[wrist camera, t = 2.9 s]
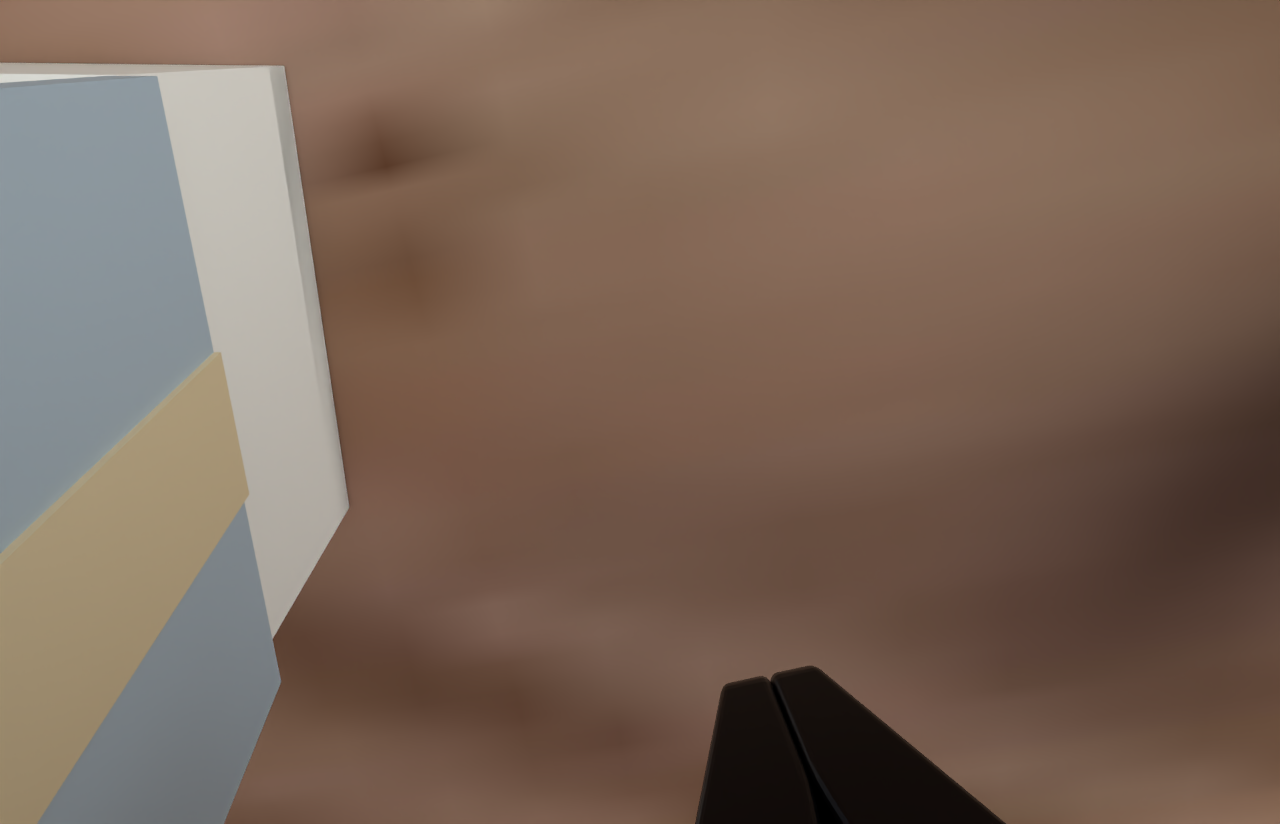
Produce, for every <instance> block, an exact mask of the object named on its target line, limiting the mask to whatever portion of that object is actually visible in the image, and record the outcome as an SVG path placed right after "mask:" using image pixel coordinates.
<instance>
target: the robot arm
mask: <svg viewBox="0 0 1280 824" xmlns="http://www.w3.org/2000/svg"><path fill="white" fill-rule="evenodd" d="M695 824H1006V823H1005V822H1003V821H1002V820H1001V819H1000V818H999V817H997V816H996V815H995V814H994V813H993V812H991V811H990V810H989V809H988V808H987V807H985V806H984V805H983V804H982V803H981V802H979V801H978V800H977V799H976V798H974V797H973V796H972V795H971V794H970V793H968V792H967V791H966V790H965V789H964V788H962V787H961V786H960V785H959V784H958V783H956V782H955V781H954V780H953V779H952V778H950V777H949V776H948V775H947V774H946V773H944V772H943V771H942V770H941V769H940V768H938V767H937V766H936V765H935V764H934V763H932V762H931V761H930V760H929V759H928V758H926V757H925V756H924V755H923V754H922V753H920V752H919V751H918V750H917V749H915V748H914V747H913V746H912V745H911V744H909V743H908V742H907V741H906V740H905V739H903V738H902V737H901V736H900V735H899V734H897V733H896V732H895V731H894V730H893V729H891V728H890V727H889V726H888V725H887V724H885V723H884V722H883V721H882V720H881V719H879V718H878V717H877V716H876V715H875V714H873V713H872V712H871V711H870V710H869V709H867V708H866V707H865V706H864V705H863V704H861V703H860V702H859V701H858V700H856V699H855V698H854V697H853V696H852V695H850V694H849V693H848V692H847V691H846V690H844V689H843V688H842V687H841V686H840V685H838V684H837V683H836V682H835V681H834V680H832V679H831V678H830V677H829V676H828V675H826V674H825V673H824V672H823V671H822V670H820V669H819V668H817V667H814V666H805V667H801V668H796V669H791V670H787V671H782V672H777V673H775V674H774V675H773V676H772V678H771V681H769V680H768V679H767V678H766V677H763V676H759V677H754V678H750V679H745V680H741V681H736V682H732V683H728V684H726V685H725V686H724V687H723V689H722V691H721V695H720V700H719V705H718V710H717V715H716V720H715V725H714V730H713V735H712V741H711V746H710V751H709V756H708V761H707V766H706V771H705V776H704V781H703V786H702V791H701V796H700V801H699V806H698V812H697V817H696V822H695Z"/></svg>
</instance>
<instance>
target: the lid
mask: <svg viewBox="0 0 1280 824" xmlns="http://www.w3.org/2000/svg"><path fill="white" fill-rule="evenodd" d="M248 496H249V490H248V485H247V480H246V475H245V470H244V465H243V460H242V455H241V450H240V445H239V440H238V435H237V430H236V425H235V420H234V415H233V410H232V405H231V400H230V395H229V390H228V385H227V380H226V375H225V370H224V365H223V360H222V355H221V352H214V351H213V346H212V341H211V336H210V331H209V327H208V322H207V317H206V312H205V307H204V302H203V297H202V292H201V287H200V283H199V278H198V273H197V268H196V263H195V258H194V253H193V248H192V243H191V239H190V234H189V229H188V224H187V219H186V214H185V209H184V204H183V199H182V195H181V190H180V185H179V180H178V175H177V170H176V165H175V160H174V155H173V151H172V146H171V141H170V136H169V131H168V126H167V121H166V116H165V111H164V107H163V102H162V97H161V92H160V87H159V82H158V77H157V76H96V77H81V78H67V79H52V80H37V81H22V82H8V83H0V824H224V822H225V820H226V817H227V815H228V812H229V810H230V807H231V805H232V802H233V800H234V797H235V795H236V792H237V790H238V787H239V785H240V782H241V780H242V778H243V775H244V773H245V770H246V768H247V765H248V763H249V760H250V758H251V755H252V753H253V750H254V748H255V745H256V743H257V740H258V738H259V735H260V733H261V731H262V728H263V726H264V723H265V721H266V718H267V716H268V713H269V711H270V708H271V706H272V703H273V701H274V698H275V696H276V693H277V691H278V688H279V686H280V684H281V678H280V674H279V669H278V664H277V659H276V654H275V649H274V644H273V639H272V634H271V630H270V625H269V620H268V615H267V610H266V605H265V600H264V595H263V590H262V586H261V581H260V576H259V571H258V566H257V561H256V556H255V551H254V547H253V542H252V537H251V532H250V527H249V522H248V517H247V512H246V507H245V503H244V502H245V500H246V499H247V497H248Z"/></svg>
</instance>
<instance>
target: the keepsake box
mask: <svg viewBox="0 0 1280 824" xmlns="http://www.w3.org/2000/svg"><path fill="white" fill-rule="evenodd" d="M96 76H157V77H158V82H159V87H160V92H161V97H162V102H163V107H164V111H165V116H166V121H167V126H168V131H169V136H170V141H171V146H172V151H173V155H174V160H175V165H176V170H177V175H178V180H179V185H180V190H181V195H182V199H183V204H184V209H185V214H186V219H187V224H188V229H189V234H190V239H191V243H192V248H193V253H194V258H195V263H196V268H197V273H198V278H199V283H200V287H201V292H202V297H203V302H204V307H205V312H206V317H207V322H208V327H209V331H210V336H211V341H212V346H213V351H214V352H221V355H222V360H223V365H224V370H225V375H226V380H227V385H228V390H229V395H230V400H231V405H232V410H233V415H234V420H235V425H236V430H237V435H238V440H239V445H240V450H241V455H242V460H243V465H244V470H245V475H246V480H247V485H248V490H249V496H248V497H247V499H246V500H245V502H244V503H245V507H246V512H247V517H248V522H249V527H250V532H251V537H252V542H253V547H254V551H255V556H256V561H257V566H258V571H259V576H260V581H261V586H262V590H263V595H264V600H265V605H266V610H267V615H268V620H269V625H270V630H271V634H272V639H273V637H274V636H275V634H276V632H277V630H278V629H279V627H280V625H281V624H282V622H283V620H284V618H285V617H286V615H287V613H288V612H289V610H290V608H291V606H292V605H293V603H294V601H295V600H296V598H297V596H298V594H299V593H300V591H301V589H302V588H303V586H304V584H305V582H306V581H307V579H308V577H309V576H310V574H311V572H312V570H313V569H314V567H315V565H316V564H317V562H318V560H319V559H320V557H321V555H322V553H323V552H324V550H325V548H326V547H327V545H328V543H329V541H330V540H331V538H332V536H333V535H334V533H335V531H336V529H337V528H338V526H339V524H340V523H341V521H342V519H343V517H344V516H345V514H346V512H347V511H348V509H349V502H348V495H347V488H346V481H345V474H344V468H343V461H342V454H341V447H340V441H339V434H338V427H337V420H336V413H335V407H334V400H333V393H332V386H331V380H330V373H329V366H328V359H327V352H326V346H325V339H324V332H323V325H322V318H321V312H320V305H319V298H318V291H317V285H316V278H315V271H314V264H313V257H312V251H311V244H310V237H309V230H308V224H307V217H306V210H305V203H304V196H303V190H302V183H301V176H300V169H299V163H298V156H297V149H296V142H295V135H294V129H293V122H292V115H291V108H290V102H289V95H288V88H287V81H286V74H285V68H284V66H258V65H167V64H76V63H0V83H8V82H22V81H37V80H52V79H67V78H81V77H96Z"/></svg>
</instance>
